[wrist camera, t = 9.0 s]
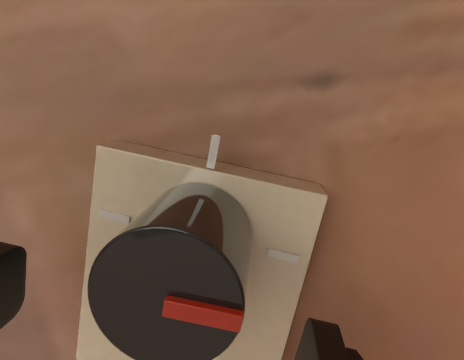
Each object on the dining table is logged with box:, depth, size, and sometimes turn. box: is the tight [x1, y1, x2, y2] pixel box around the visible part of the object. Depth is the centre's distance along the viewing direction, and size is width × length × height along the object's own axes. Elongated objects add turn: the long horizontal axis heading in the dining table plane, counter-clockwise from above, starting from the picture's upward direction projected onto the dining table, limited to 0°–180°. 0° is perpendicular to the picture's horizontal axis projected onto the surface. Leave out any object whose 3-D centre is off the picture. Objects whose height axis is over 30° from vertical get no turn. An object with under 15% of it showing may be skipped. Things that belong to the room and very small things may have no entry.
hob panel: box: [76, 134, 328, 360], centre depth 17 cm, size 16×10×2 cm, turn 169°
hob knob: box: [88, 183, 252, 360], centre depth 12 cm, size 5×5×5 cm
